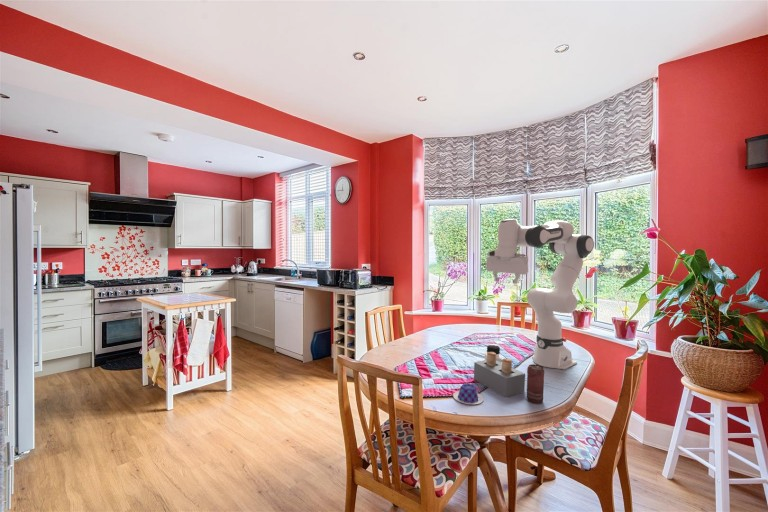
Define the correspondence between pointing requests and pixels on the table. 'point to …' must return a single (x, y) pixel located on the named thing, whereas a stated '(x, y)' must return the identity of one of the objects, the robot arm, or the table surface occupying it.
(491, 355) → the peg
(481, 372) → the block
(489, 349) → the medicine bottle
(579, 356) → the table surface
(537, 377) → the can
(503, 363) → the peg
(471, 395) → the pudding
